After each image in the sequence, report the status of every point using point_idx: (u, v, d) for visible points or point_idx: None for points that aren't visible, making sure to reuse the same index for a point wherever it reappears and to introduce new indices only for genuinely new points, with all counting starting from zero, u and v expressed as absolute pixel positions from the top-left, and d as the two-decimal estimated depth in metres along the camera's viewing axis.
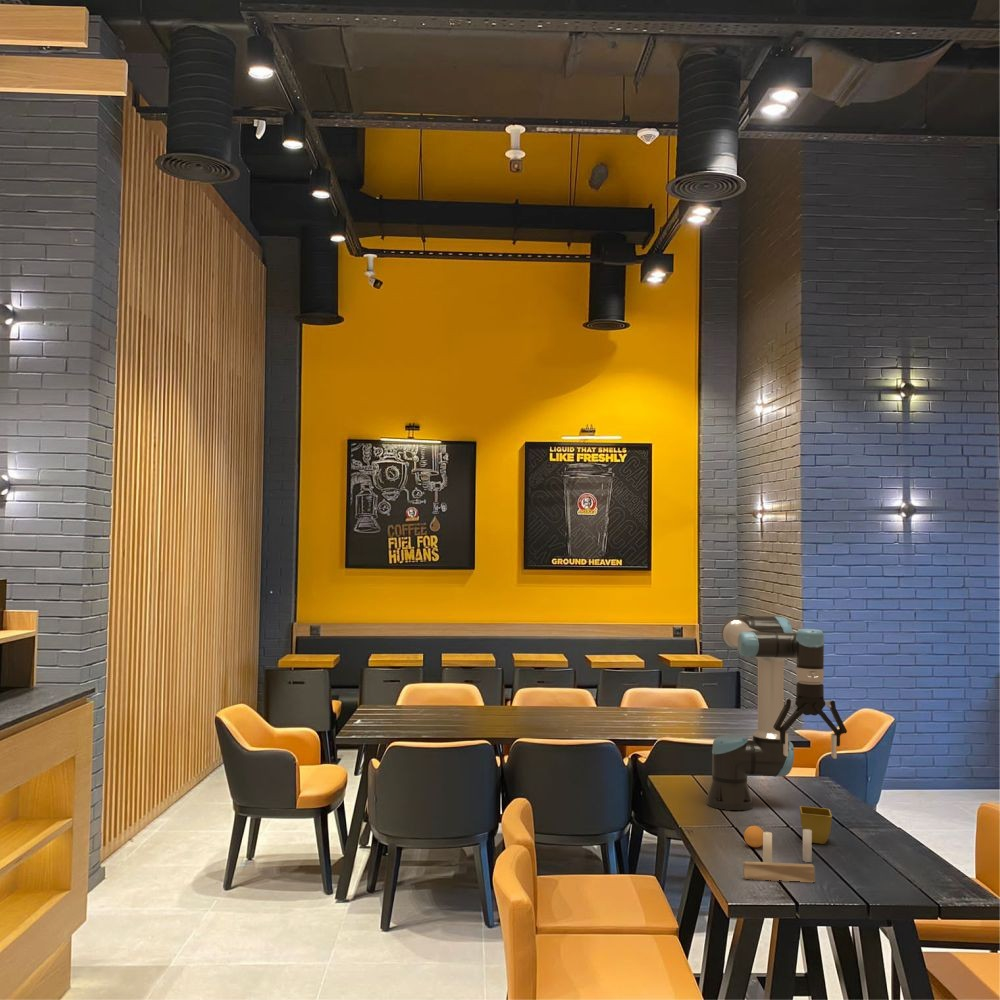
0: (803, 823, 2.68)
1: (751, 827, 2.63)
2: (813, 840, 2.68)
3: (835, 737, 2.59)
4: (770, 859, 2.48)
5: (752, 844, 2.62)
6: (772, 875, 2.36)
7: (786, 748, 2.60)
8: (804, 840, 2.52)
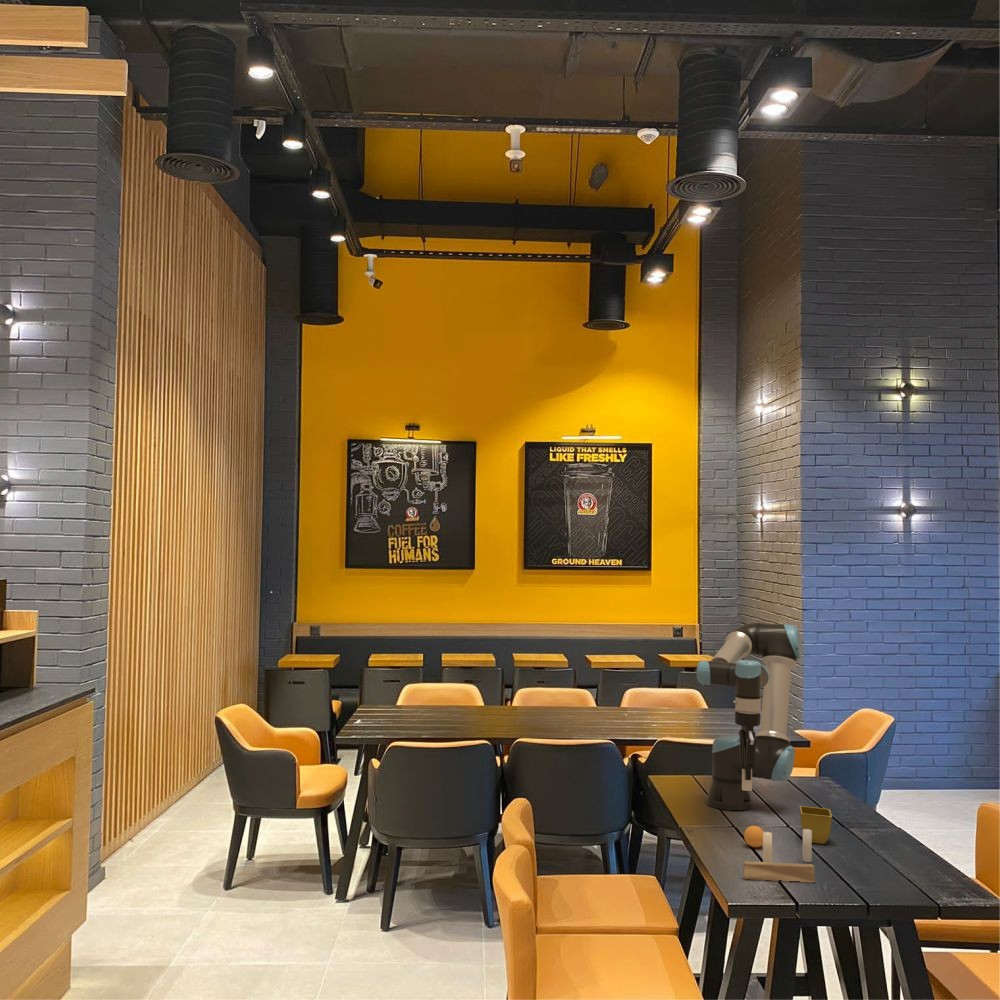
0: (803, 823, 2.68)
1: (751, 827, 2.63)
2: (813, 840, 2.68)
3: (742, 770, 2.74)
4: (770, 859, 2.48)
5: (752, 844, 2.62)
6: (772, 875, 2.36)
7: (742, 782, 2.75)
8: (804, 840, 2.52)
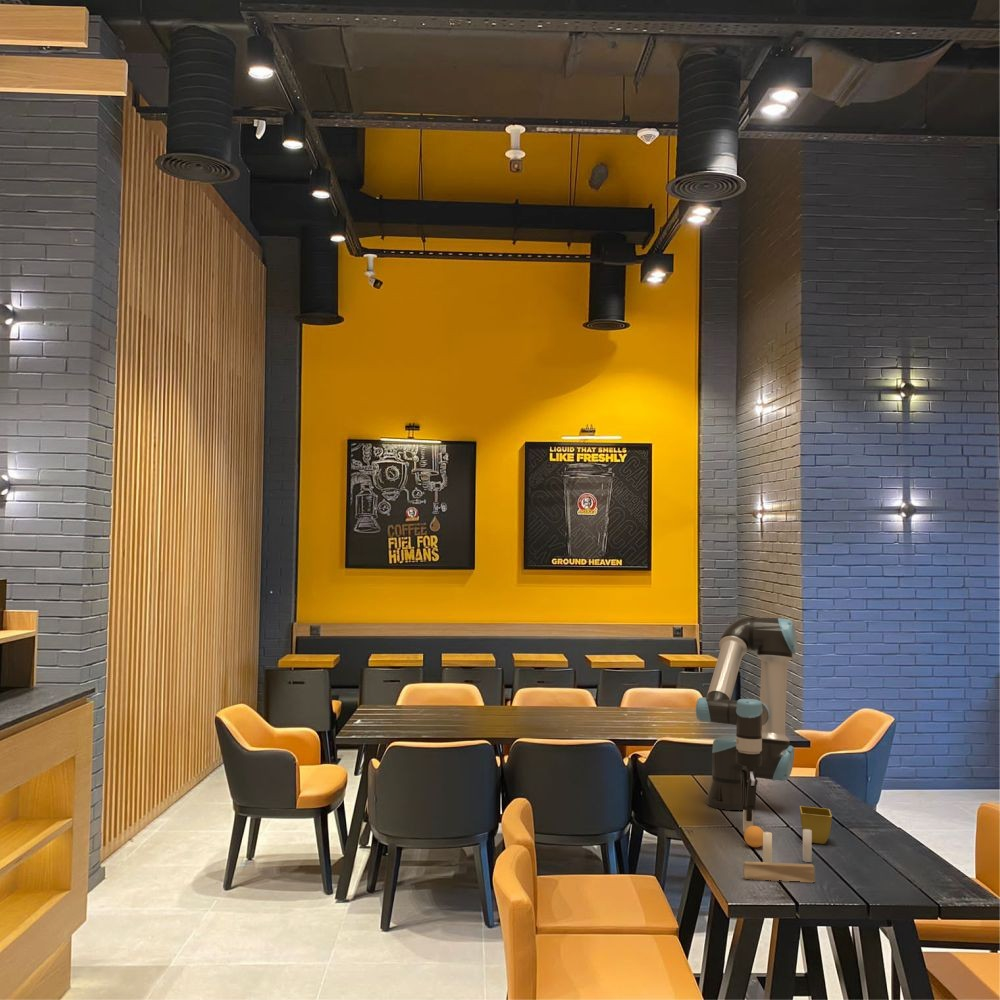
0: (803, 823, 2.68)
1: (751, 827, 2.63)
2: (813, 840, 2.68)
3: (743, 810, 2.71)
4: (770, 859, 2.48)
5: (752, 844, 2.62)
6: (772, 875, 2.36)
7: (743, 822, 2.71)
8: (804, 840, 2.52)
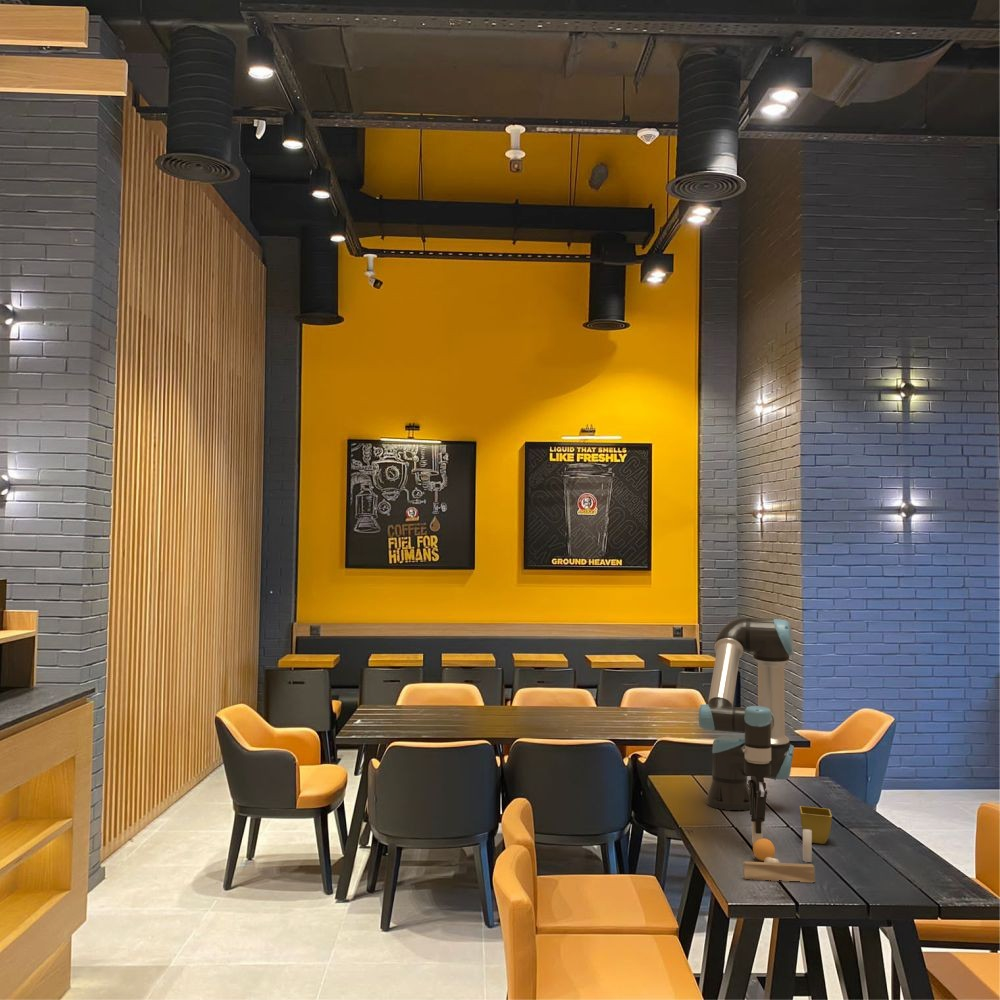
0: (803, 823, 2.68)
1: None
2: (813, 840, 2.68)
3: (752, 822, 2.61)
4: None
5: (759, 839, 2.53)
6: (772, 875, 2.36)
7: (752, 835, 2.61)
8: (804, 840, 2.52)
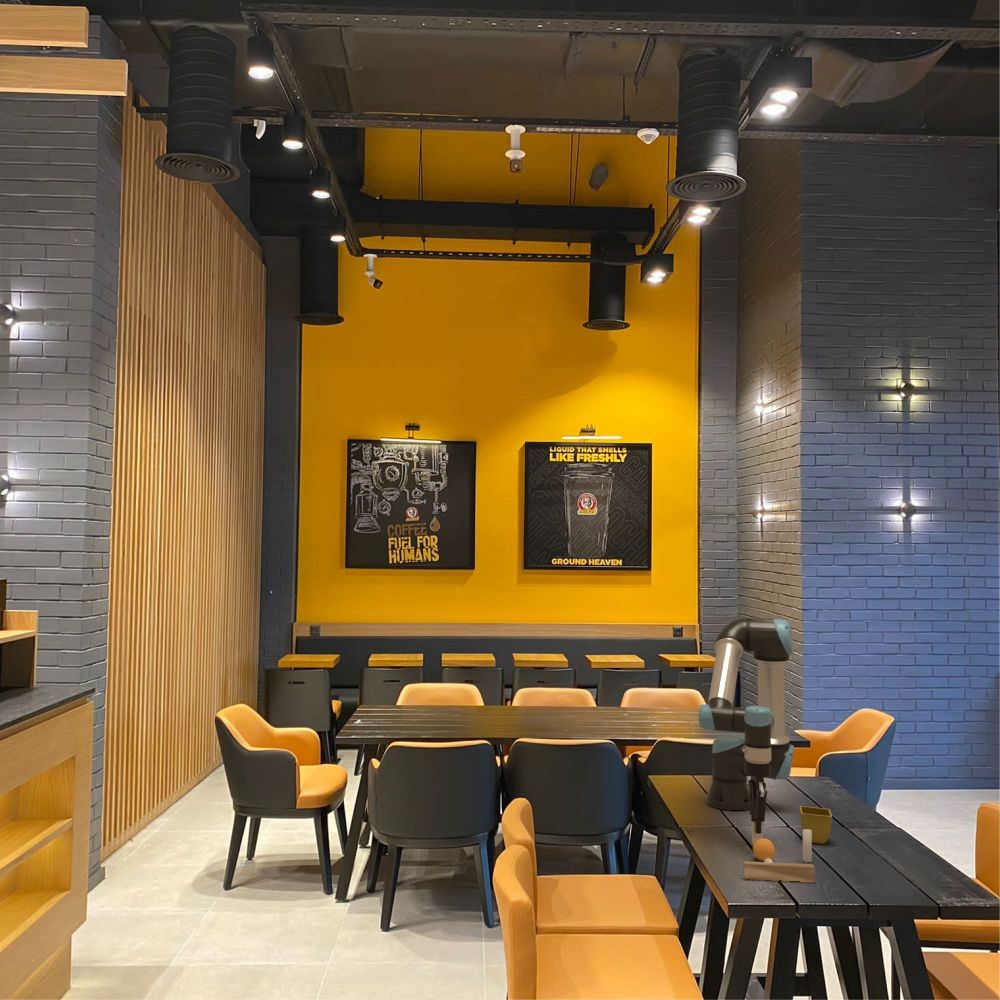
0: (803, 823, 2.68)
1: None
2: (813, 840, 2.68)
3: (752, 822, 2.61)
4: None
5: (759, 839, 2.53)
6: (772, 875, 2.36)
7: (752, 835, 2.61)
8: (804, 840, 2.52)
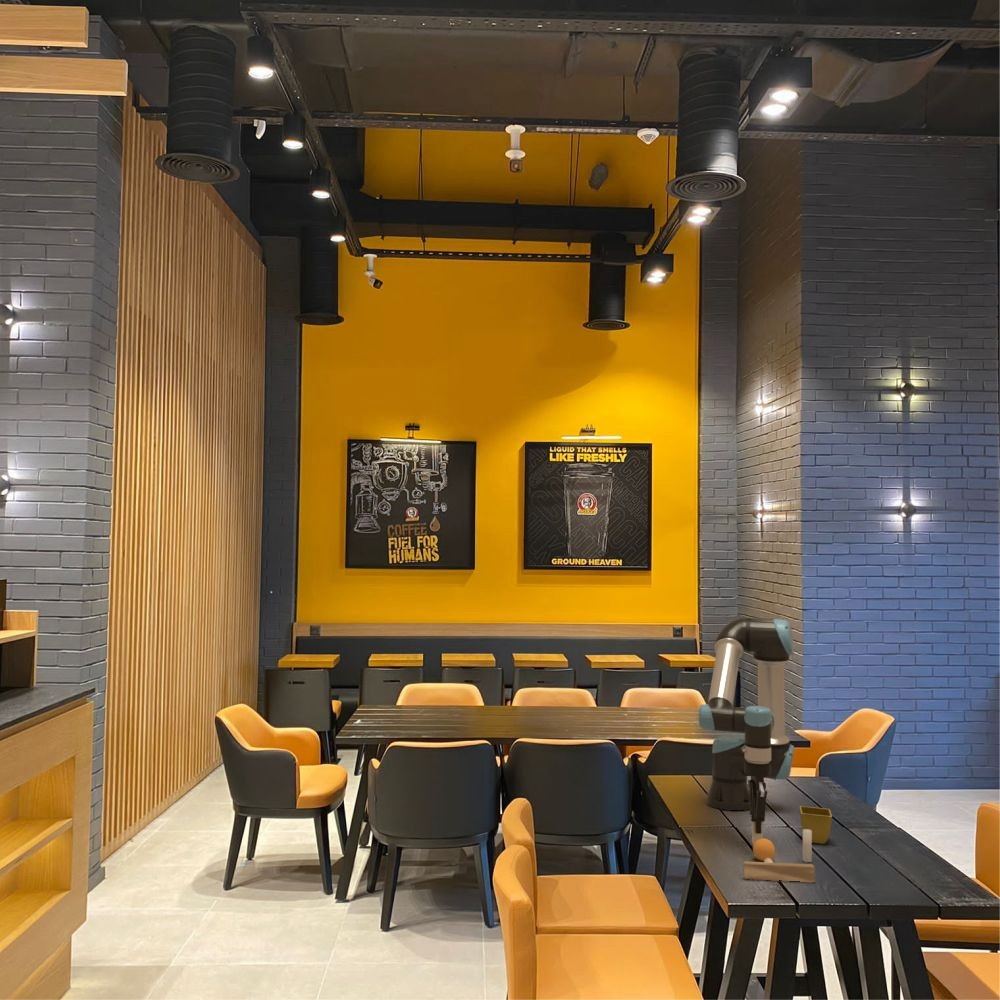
0: (803, 823, 2.68)
1: None
2: (813, 840, 2.68)
3: (752, 822, 2.61)
4: None
5: (759, 839, 2.53)
6: (772, 875, 2.36)
7: (752, 835, 2.61)
8: (804, 840, 2.52)
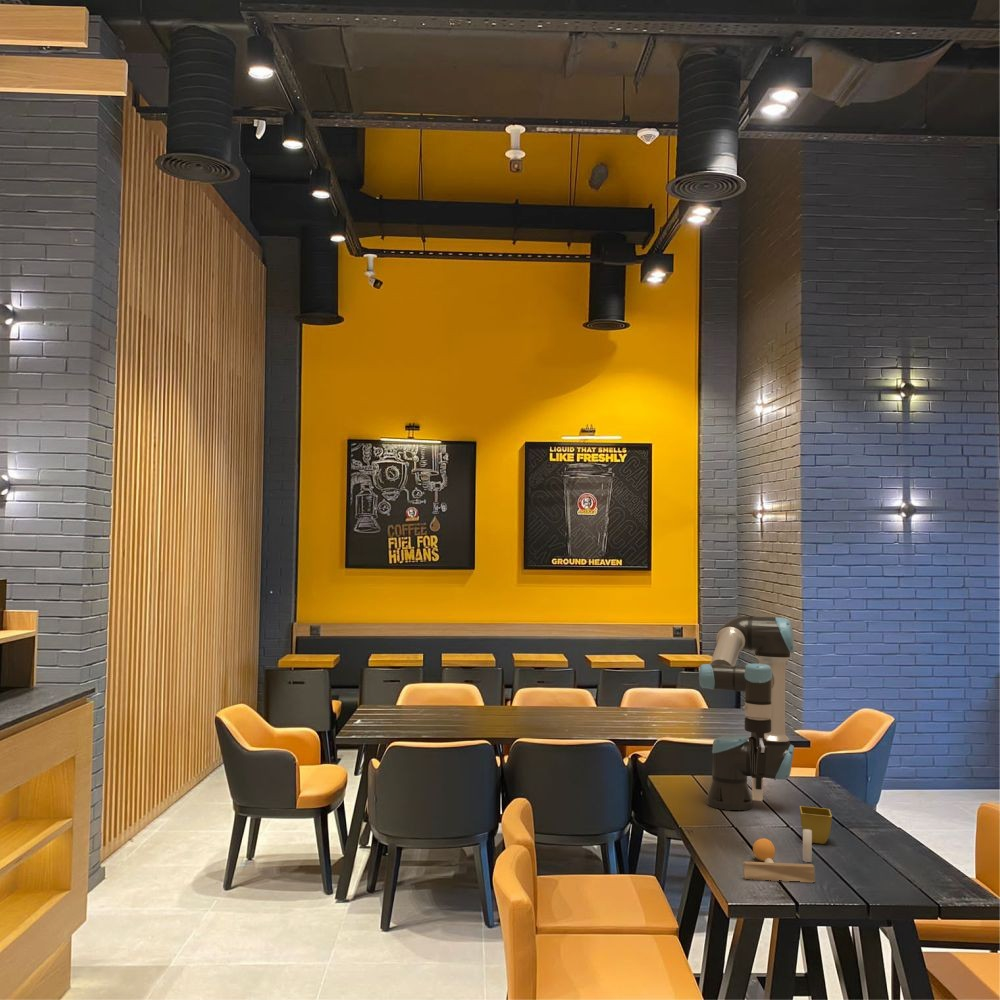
0: (803, 823, 2.68)
1: None
2: (813, 840, 2.68)
3: (753, 779, 2.62)
4: None
5: (759, 839, 2.53)
6: (772, 875, 2.36)
7: (752, 791, 2.62)
8: (804, 840, 2.52)
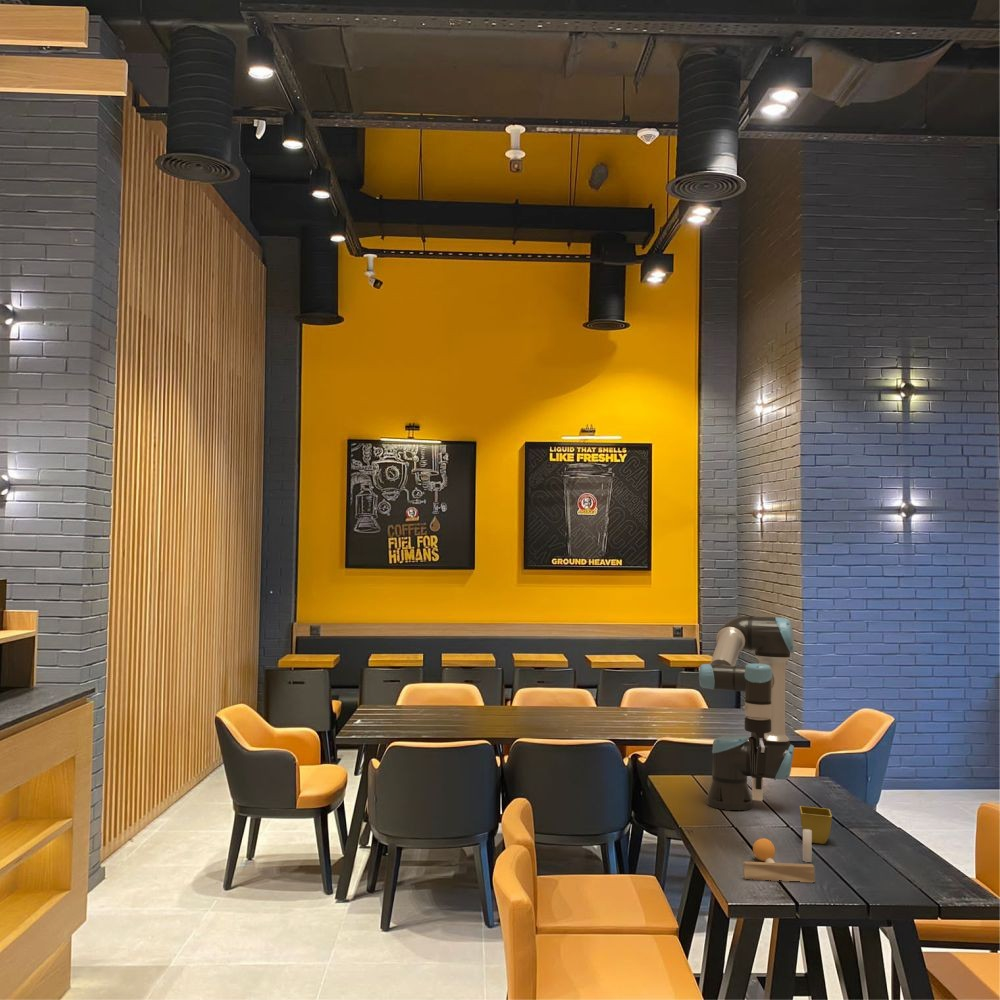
0: (803, 823, 2.68)
1: None
2: (813, 840, 2.68)
3: (753, 779, 2.62)
4: None
5: (759, 839, 2.53)
6: (772, 875, 2.36)
7: (752, 791, 2.62)
8: (804, 840, 2.52)
